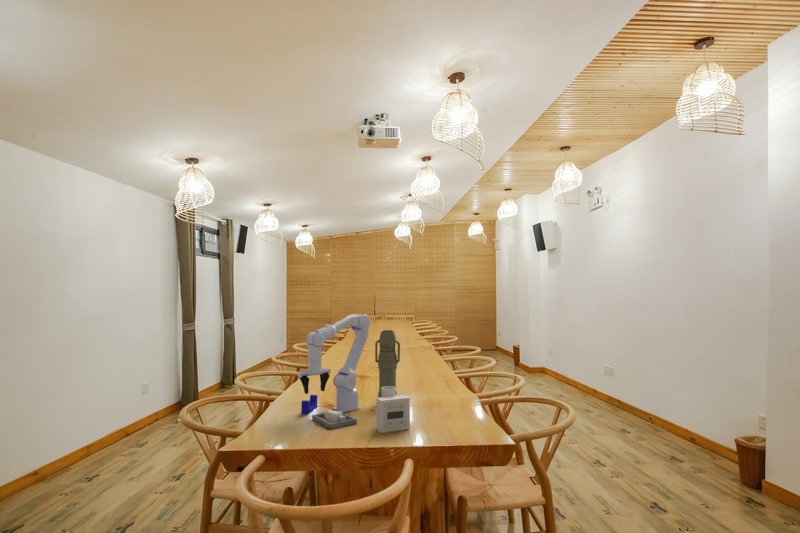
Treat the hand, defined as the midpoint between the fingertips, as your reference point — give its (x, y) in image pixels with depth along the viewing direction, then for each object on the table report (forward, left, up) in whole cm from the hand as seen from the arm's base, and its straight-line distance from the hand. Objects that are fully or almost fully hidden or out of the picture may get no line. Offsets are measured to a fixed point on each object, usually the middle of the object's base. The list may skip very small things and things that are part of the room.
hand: (314, 392), depth 191 cm
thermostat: (-18, +30, -11) cm, 37 cm away
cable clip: (-2, -10, -11) cm, 15 cm away
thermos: (-36, +4, -11) cm, 38 cm away
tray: (-3, +12, -10) cm, 16 cm away
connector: (-3, +12, -10) cm, 16 cm away
